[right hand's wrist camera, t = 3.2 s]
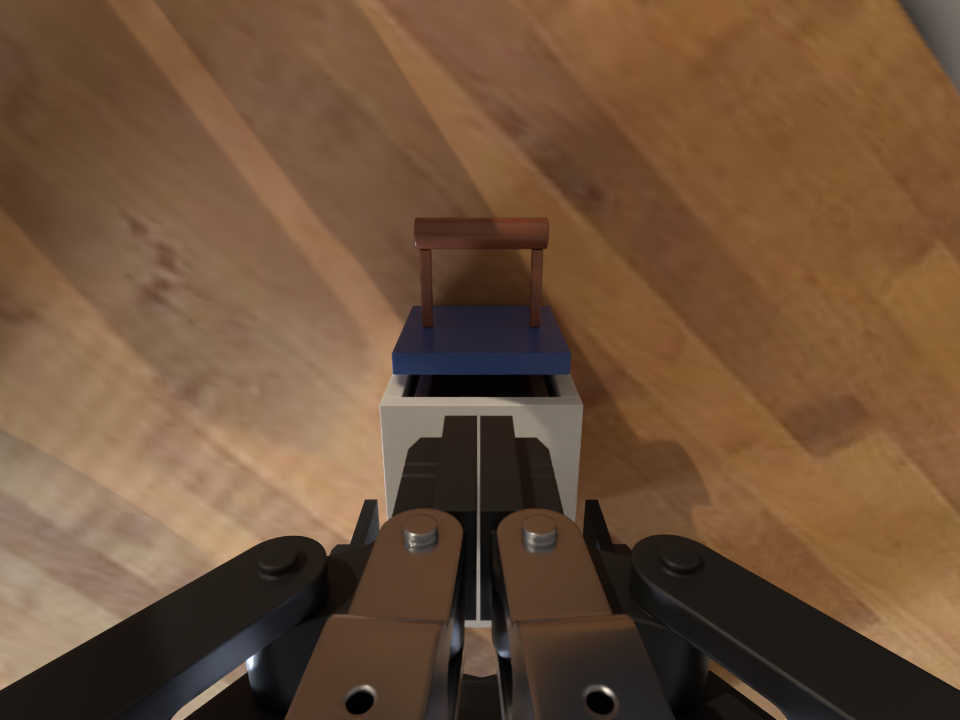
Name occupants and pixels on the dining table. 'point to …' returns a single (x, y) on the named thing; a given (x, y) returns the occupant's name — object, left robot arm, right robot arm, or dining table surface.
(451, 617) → the right robot arm
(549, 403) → the cabinet
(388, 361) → the dining table surface
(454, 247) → the drawer
